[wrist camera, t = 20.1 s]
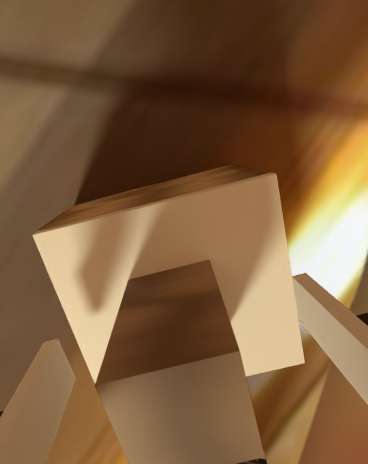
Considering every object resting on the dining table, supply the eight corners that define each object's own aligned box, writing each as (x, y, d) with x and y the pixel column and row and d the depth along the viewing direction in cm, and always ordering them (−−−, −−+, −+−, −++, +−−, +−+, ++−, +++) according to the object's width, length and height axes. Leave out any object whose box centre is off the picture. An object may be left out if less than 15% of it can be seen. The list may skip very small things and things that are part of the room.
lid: (108, 399, 21) (105, 408, 20) (38, 231, 17) (32, 235, 16) (299, 354, 21) (304, 363, 20) (271, 172, 17) (276, 173, 16)
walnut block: (151, 347, 19) (138, 486, 11) (128, 279, 17) (94, 385, 10) (226, 329, 19) (264, 457, 11) (209, 259, 17) (239, 350, 10)
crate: (119, 329, 29) (106, 395, 21) (74, 204, 25) (38, 230, 18) (256, 293, 29) (290, 346, 22) (230, 164, 25) (262, 171, 18)
